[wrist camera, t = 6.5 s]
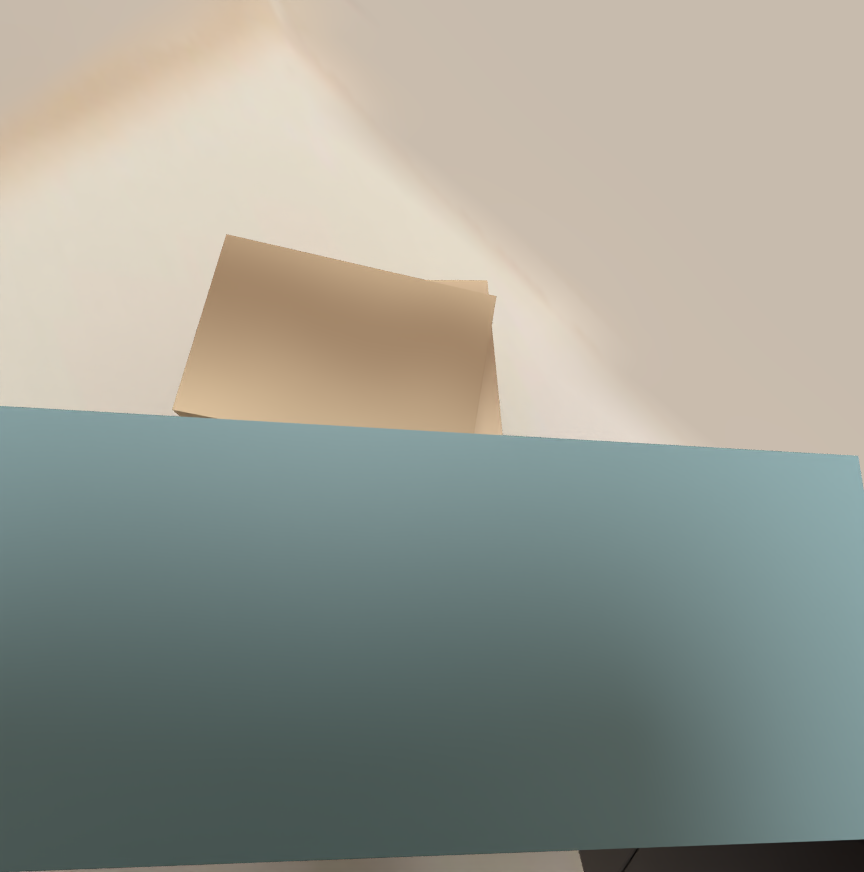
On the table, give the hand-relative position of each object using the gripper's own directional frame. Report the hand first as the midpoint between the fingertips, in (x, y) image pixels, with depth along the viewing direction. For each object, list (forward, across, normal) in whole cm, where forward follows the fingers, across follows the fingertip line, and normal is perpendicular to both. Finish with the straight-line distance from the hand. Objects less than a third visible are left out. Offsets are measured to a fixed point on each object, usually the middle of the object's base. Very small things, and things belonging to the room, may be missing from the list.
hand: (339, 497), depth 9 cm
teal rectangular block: (+4, 0, +6) cm, 7 cm away
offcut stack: (+8, 0, +3) cm, 8 cm away
